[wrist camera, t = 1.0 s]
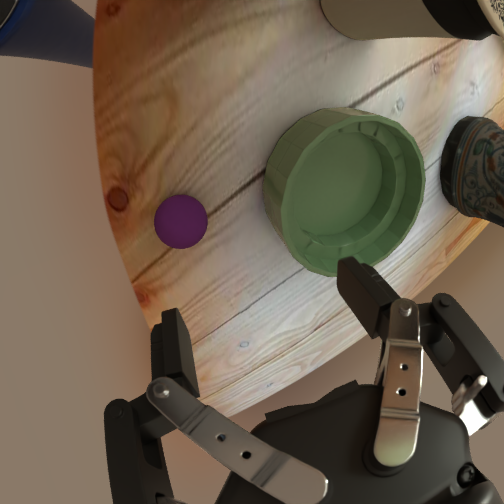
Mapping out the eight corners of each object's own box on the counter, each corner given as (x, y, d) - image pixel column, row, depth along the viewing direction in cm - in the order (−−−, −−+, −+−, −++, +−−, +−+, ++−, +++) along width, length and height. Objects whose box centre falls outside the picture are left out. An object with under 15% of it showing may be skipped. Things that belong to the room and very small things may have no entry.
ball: (145, 204, 27) (141, 228, 23) (188, 177, 26) (191, 196, 22) (172, 241, 30) (174, 268, 26) (213, 216, 29) (221, 241, 25)
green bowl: (232, 151, 26) (247, 167, 21) (372, 86, 25) (409, 92, 20) (295, 270, 36) (314, 302, 31) (400, 207, 35) (429, 228, 30)
